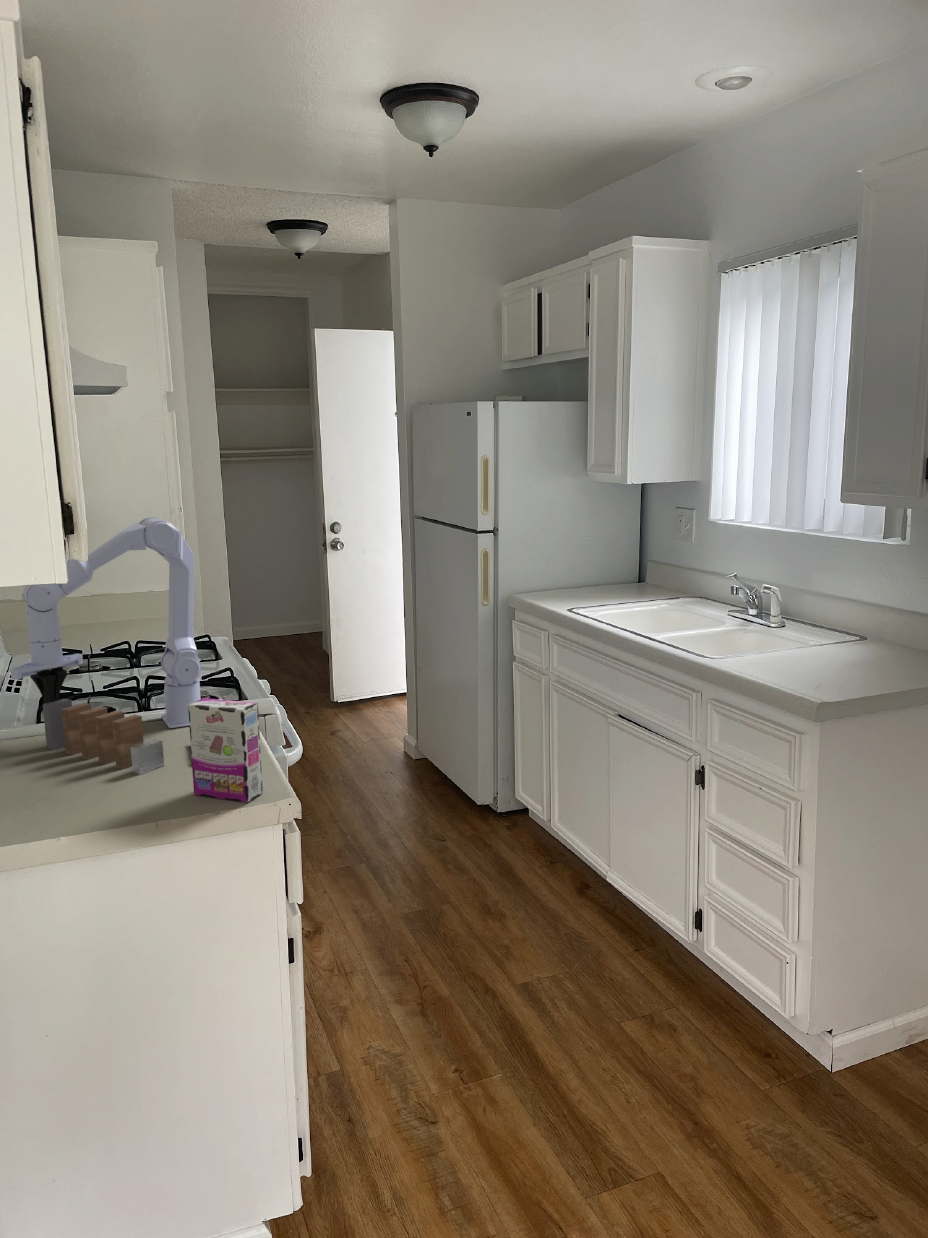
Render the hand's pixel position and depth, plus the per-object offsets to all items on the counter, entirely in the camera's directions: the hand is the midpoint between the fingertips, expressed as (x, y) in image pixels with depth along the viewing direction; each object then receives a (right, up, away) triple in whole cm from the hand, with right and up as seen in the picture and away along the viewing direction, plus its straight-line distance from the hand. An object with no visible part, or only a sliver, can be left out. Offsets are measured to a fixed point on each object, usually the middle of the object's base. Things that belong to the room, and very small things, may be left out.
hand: (51, 706), depth 186 cm
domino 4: (+16, -9, -8) cm, 20 cm away
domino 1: (+2, -8, 0) cm, 8 cm away
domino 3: (+11, -9, -6) cm, 16 cm away
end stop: (+24, -10, -14) cm, 30 cm away
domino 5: (+20, -10, -11) cm, 25 cm away
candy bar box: (+42, -13, -26) cm, 51 cm away
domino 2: (+7, -8, -3) cm, 11 cm away
